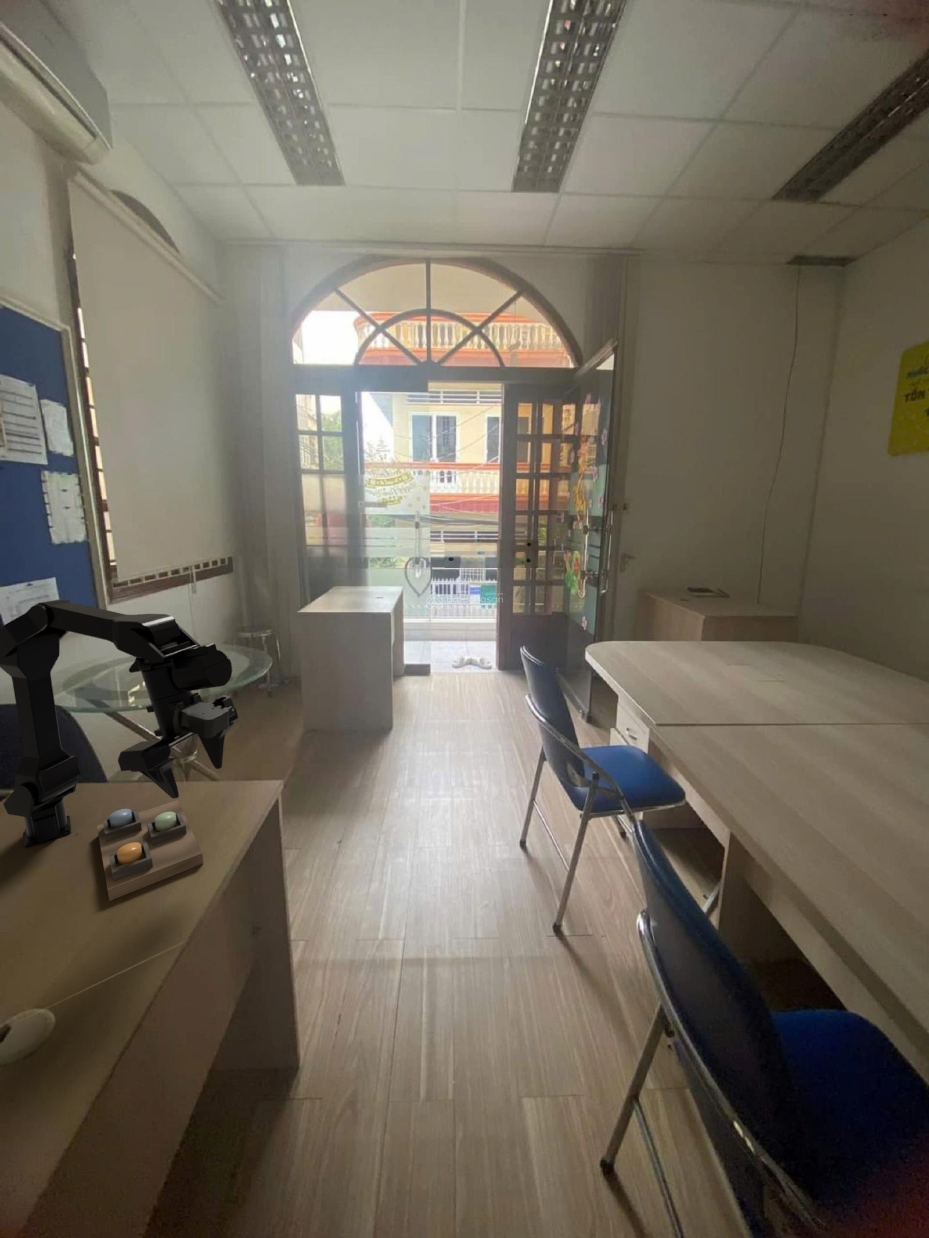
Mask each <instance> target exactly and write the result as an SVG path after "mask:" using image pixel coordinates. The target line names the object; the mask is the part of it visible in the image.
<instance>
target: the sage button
mask: <svg viewBox="0 0 929 1238" xmlns="http://www.w3.org/2000/svg"><path fill="white" fill-rule="evenodd" d="M176 823H177V821H176V814H175V813H174V812H165V813H162V814H160V815H158V816H157V817H156V818H155V826H156V830H159V831H164V830H168V829H170V828H172V827H174V826H175V825H176Z"/></svg>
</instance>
